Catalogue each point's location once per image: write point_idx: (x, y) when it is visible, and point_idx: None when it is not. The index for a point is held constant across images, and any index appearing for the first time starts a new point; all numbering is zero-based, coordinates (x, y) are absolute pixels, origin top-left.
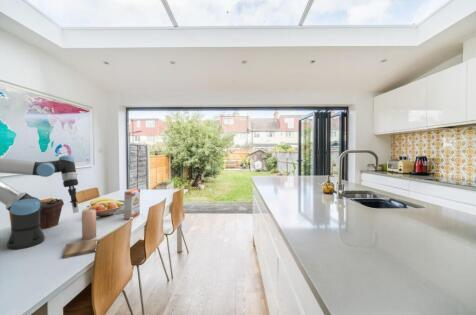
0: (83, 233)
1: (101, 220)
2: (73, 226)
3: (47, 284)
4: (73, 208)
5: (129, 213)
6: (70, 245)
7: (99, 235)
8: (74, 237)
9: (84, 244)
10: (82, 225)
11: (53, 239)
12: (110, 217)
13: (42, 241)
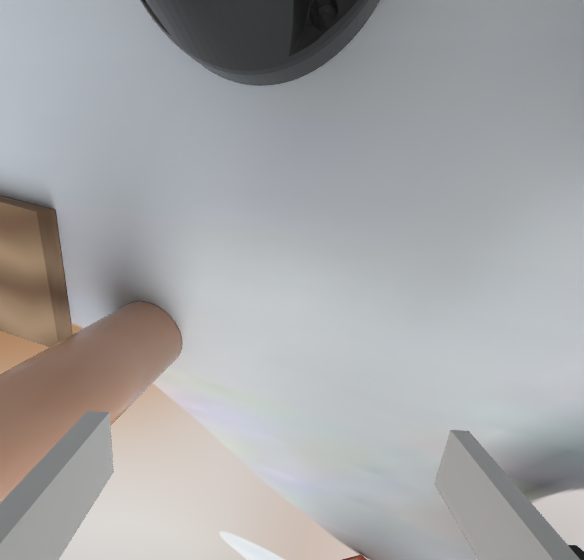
0: (93, 323)
1: None
2: (481, 327)
3: None
4: (13, 503)
5: None
6: (11, 228)
7: None
8: (193, 275)
9: (6, 286)
10: (41, 354)
11: (231, 153)
12: None
13: (205, 67)
